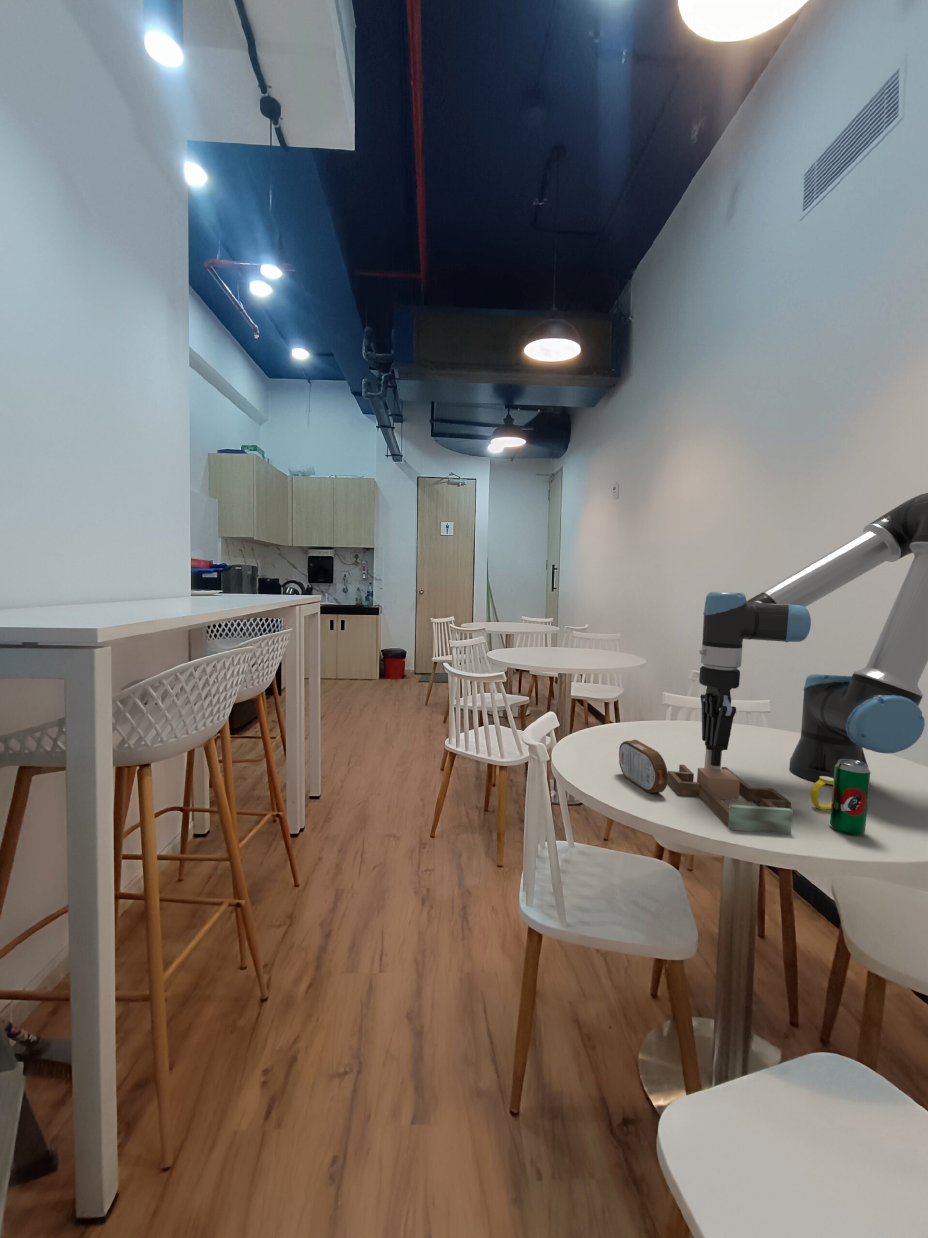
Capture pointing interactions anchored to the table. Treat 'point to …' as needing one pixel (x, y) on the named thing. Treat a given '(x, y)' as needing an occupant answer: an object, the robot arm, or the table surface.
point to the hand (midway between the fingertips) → (711, 779)
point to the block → (720, 782)
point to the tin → (643, 766)
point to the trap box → (761, 818)
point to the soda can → (850, 797)
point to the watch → (816, 789)
